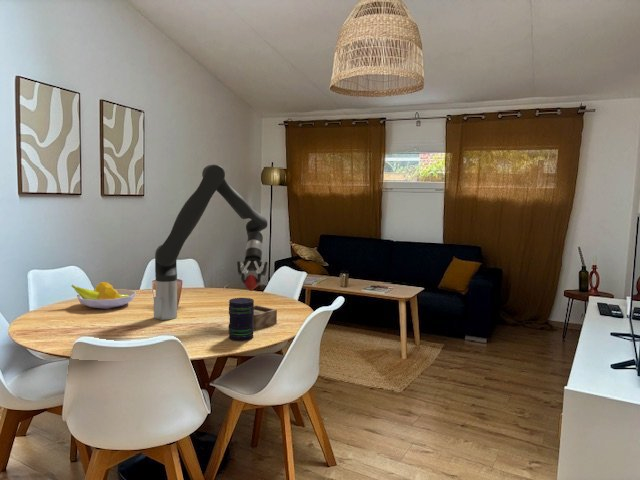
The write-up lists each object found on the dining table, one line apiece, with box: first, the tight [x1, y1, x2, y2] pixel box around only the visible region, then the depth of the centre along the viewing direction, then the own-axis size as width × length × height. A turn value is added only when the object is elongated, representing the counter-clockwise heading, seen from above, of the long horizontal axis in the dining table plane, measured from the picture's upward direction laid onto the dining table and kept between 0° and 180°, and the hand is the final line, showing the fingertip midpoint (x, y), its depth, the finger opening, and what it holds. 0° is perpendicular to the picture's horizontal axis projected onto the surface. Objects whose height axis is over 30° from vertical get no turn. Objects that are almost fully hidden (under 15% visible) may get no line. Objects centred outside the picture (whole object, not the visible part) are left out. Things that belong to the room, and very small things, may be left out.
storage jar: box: [228, 297, 255, 342], centre depth 182 cm, size 10×10×15 cm
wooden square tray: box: [253, 304, 278, 331], centre depth 202 cm, size 13×13×6 cm
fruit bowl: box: [71, 281, 137, 310], centre depth 228 cm, size 28×27×11 cm
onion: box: [243, 272, 259, 292], centre depth 203 cm, size 6×6×8 cm
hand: (250, 282), depth 201 cm, fingers closed on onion, 5 cm apart
